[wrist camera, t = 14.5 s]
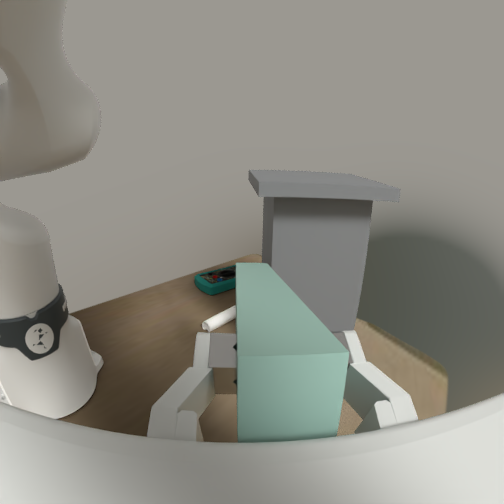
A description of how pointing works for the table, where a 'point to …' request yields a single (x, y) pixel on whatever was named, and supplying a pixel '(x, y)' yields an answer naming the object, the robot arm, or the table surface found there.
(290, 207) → the stand
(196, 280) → the digital multimeter
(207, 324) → the white rod
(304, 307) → the bar
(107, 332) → the table surface
